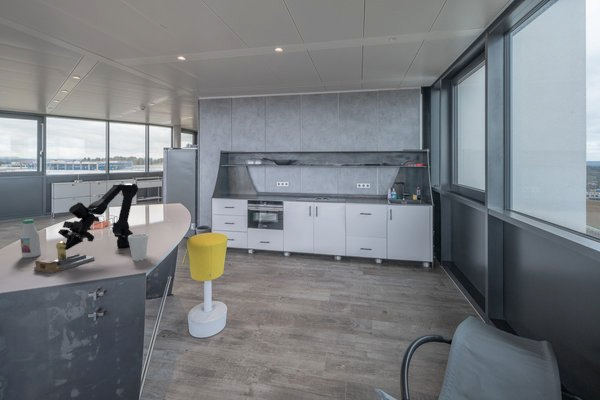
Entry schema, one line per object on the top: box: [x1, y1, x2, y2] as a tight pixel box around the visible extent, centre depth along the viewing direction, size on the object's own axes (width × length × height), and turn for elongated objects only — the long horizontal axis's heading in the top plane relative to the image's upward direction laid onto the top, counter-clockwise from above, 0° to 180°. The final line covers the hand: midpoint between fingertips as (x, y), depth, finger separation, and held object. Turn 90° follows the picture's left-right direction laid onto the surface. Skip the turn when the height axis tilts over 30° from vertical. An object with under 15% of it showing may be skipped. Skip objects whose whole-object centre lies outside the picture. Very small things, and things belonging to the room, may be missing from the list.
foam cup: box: [128, 233, 149, 262], centre depth 163 cm, size 10×9×13 cm
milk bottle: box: [20, 218, 42, 259], centre depth 165 cm, size 8×8×20 cm
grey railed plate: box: [33, 253, 95, 274], centre depth 153 cm, size 21×12×5 cm, turn 163°
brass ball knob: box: [44, 241, 68, 267], centre depth 149 cm, size 10×4×10 cm, turn 163°
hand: (65, 249), depth 153 cm, fingers closed, pressing on brass ball knob
